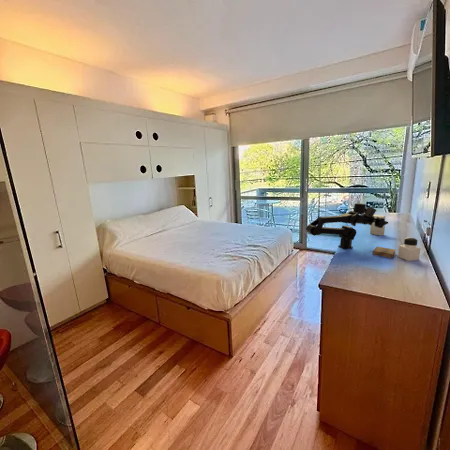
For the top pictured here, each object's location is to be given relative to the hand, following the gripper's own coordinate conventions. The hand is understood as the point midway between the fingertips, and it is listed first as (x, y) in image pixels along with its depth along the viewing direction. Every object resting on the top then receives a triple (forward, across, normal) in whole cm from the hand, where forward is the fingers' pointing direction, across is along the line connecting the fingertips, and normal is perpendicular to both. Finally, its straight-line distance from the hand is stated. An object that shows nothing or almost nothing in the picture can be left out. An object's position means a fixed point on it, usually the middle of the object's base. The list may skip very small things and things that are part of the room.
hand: (382, 221), depth 163 cm
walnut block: (-8, -17, +18) cm, 26 cm away
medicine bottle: (-1, -26, +17) cm, 31 cm away
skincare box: (+18, +23, +14) cm, 33 cm away
